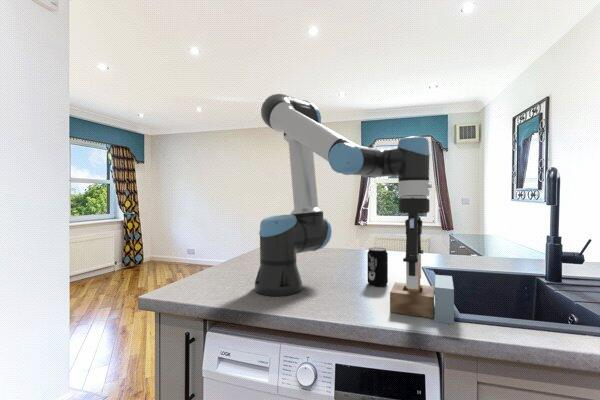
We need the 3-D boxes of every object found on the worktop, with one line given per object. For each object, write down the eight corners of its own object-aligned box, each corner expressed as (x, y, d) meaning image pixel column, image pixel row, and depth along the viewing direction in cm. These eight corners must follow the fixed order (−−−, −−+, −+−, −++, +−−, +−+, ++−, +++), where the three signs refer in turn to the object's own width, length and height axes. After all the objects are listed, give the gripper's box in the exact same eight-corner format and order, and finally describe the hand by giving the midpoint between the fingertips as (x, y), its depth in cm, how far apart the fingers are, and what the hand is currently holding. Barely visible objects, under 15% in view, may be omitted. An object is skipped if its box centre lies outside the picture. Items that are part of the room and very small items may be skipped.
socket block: (390, 311, 78) (389, 292, 78) (395, 300, 87) (395, 282, 87) (433, 318, 74) (433, 297, 74) (434, 304, 83) (433, 286, 83)
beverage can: (388, 287, 100) (388, 250, 100) (367, 286, 101) (367, 250, 101) (387, 282, 107) (386, 247, 106) (367, 281, 108) (367, 246, 108)
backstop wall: (434, 321, 72) (434, 287, 72) (435, 304, 84) (435, 274, 84) (454, 324, 71) (453, 289, 71) (452, 306, 83) (451, 276, 83)
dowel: (407, 310, 80) (407, 263, 80) (408, 306, 82) (408, 261, 82) (419, 312, 78) (419, 264, 78) (420, 308, 81) (420, 262, 81)
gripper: (427, 197, 68) (428, 297, 68) (430, 197, 89) (431, 274, 89) (392, 197, 71) (393, 293, 71) (403, 197, 92) (403, 271, 92)
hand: (414, 282), depth 80 cm, fingers open, 10 cm apart
